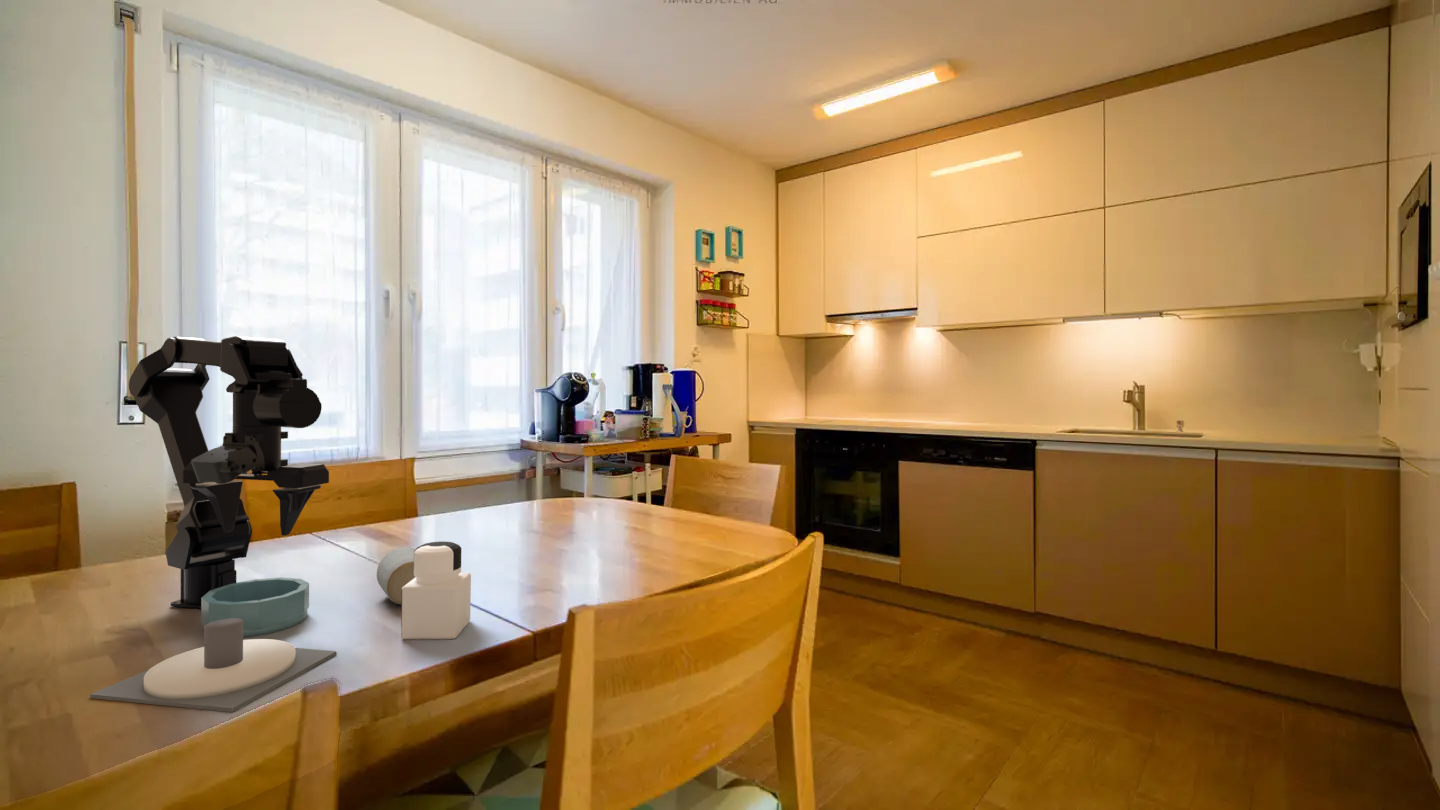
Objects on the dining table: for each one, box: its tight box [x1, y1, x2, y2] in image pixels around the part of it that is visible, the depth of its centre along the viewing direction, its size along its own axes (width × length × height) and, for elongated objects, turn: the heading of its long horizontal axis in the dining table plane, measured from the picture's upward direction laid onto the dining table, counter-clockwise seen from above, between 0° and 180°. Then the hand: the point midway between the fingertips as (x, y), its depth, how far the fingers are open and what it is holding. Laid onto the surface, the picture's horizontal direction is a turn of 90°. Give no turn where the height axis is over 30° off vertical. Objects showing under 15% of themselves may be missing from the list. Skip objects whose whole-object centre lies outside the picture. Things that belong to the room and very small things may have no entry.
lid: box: [144, 618, 296, 699], centre depth 76 cm, size 14×14×6 cm
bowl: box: [200, 577, 310, 638], centre depth 93 cm, size 12×12×4 cm
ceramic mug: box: [376, 546, 416, 606], centre depth 105 cm, size 11×8×8 cm
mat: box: [89, 645, 337, 713], centre depth 76 cm, size 17×15×1 cm
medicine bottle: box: [400, 541, 472, 640], centre depth 91 cm, size 7×7×12 cm
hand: (256, 533), depth 95 cm, fingers open, 9 cm apart
